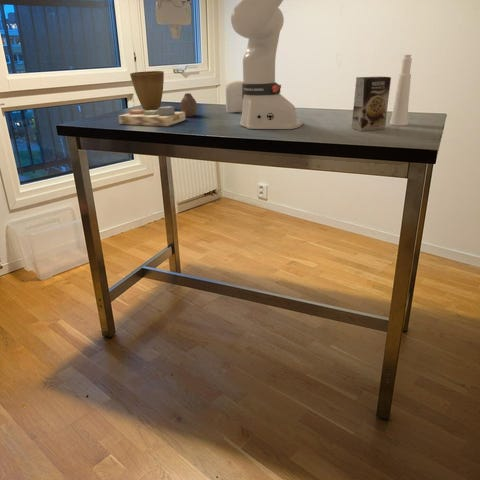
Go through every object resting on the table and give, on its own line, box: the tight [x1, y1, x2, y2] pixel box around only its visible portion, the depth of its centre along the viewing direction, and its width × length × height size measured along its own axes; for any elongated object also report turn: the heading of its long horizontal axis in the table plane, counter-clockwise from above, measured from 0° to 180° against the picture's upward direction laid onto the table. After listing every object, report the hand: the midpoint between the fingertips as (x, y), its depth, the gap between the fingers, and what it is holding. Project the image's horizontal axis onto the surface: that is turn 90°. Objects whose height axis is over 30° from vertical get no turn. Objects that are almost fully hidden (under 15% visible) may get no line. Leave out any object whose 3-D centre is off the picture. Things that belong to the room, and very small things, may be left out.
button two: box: [157, 105, 176, 116], centre depth 161 cm, size 4×4×3 cm
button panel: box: [118, 111, 186, 127], centre depth 164 cm, size 21×14×3 cm, turn 68°
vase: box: [180, 92, 198, 118], centre depth 174 cm, size 7×7×9 cm
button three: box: [144, 109, 158, 115], centre depth 164 cm, size 4×4×3 cm
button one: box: [129, 109, 147, 115], centre depth 166 cm, size 4×4×3 cm
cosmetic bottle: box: [389, 54, 413, 127], centre depth 142 cm, size 6×6×22 cm
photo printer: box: [225, 80, 243, 114], centre depth 179 cm, size 10×4×12 cm, turn 109°
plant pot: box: [129, 70, 165, 111], centre depth 193 cm, size 15×15×16 cm
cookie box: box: [351, 76, 392, 132], centre depth 138 cm, size 9×6×16 cm
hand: (175, 38), depth 160 cm, fingers closed
